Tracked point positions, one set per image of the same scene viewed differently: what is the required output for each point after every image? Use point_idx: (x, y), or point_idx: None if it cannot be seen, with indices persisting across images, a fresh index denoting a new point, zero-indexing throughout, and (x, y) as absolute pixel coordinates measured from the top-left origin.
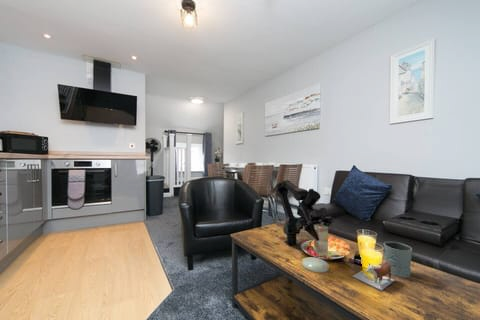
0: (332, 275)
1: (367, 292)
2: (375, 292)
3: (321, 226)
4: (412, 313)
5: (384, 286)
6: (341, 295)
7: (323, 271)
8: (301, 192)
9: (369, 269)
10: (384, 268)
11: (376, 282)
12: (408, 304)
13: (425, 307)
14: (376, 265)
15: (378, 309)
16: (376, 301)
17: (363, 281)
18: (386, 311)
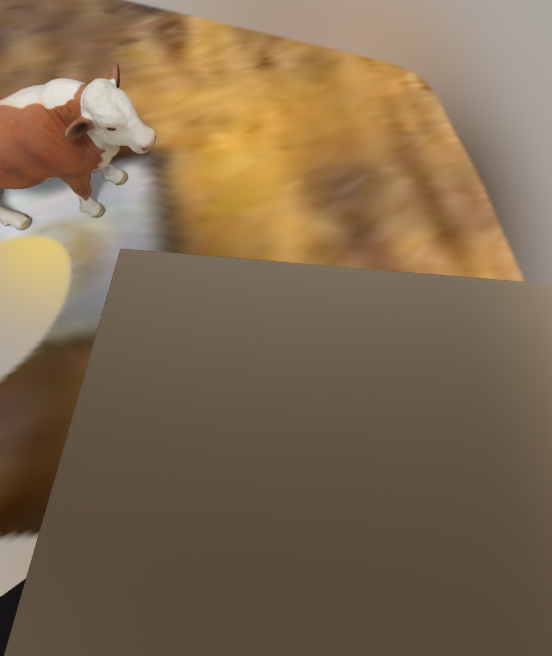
0: None
1: (251, 165)
2: (206, 152)
3: (482, 485)
4: (202, 27)
5: None
6: (433, 193)
7: None
8: None
9: (135, 113)
10: (5, 94)
11: (96, 203)
12: (150, 58)
13: (102, 30)
14: (53, 84)
15: (327, 76)
16: (278, 109)
17: (160, 242)
18: (302, 60)
